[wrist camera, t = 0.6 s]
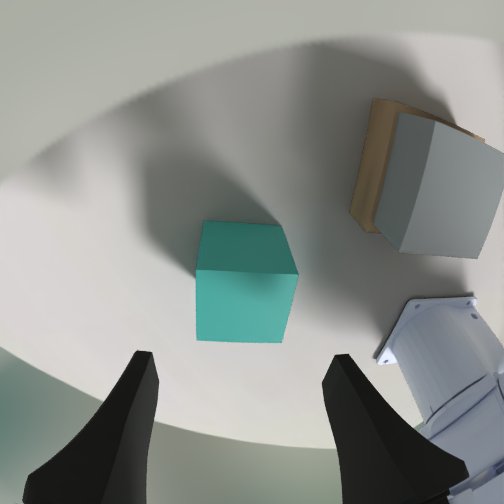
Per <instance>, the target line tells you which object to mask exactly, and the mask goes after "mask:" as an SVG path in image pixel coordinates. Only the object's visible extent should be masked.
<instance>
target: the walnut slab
mask: <svg viewBox="0 0 504 504" xmlns="http://www.w3.org/2000/svg"><path fill="white" fill-rule="evenodd" d="M399 112H402V113H406V114H411V115H415V116H419V117H423V118H427V119H431V120H435V121H437V122H440V123H442V124H445V125H447V126H449V127H452V128H454V129H456V130H458V131H461V132H463V133H465V134H467V135H469V136H471V137H473V138H475V139H477V140H479V141H481V142H483V143H485V139H483V138H481V137H479V136H477V135H475V134H473V133H471V132H469V131H467V130H465V129H463V128H461V127H459V126H456V125H454V124H452V123H450V122H447V121H445V120H443V119H440V118H438V117H436V116H433V115H431V114H428V113H426V112H423V111H421V110H418V109H415V108H413V107H410V106H407V105H404V104H401V103H398V102H395V101H388V100H381V99H373V101H372V107H371V113H370V119H369V124H368V129H367V135H366V140H365V145H364V149H363V154H362V159H361V164H360V168H359V173H358V177H357V181H356V185H355V190H354V194H353V198H352V202H351V206H350V210H349V213H350V214H351V215H352V216H353V217H354V218H355V220H356V221H357V222H358V223H359V224H360V226H361V227H362V228H363V229H364V230H365V232H372V233H381V232H380V231H379V230H378V229H377V228H376V227H375V226H374V224H373V220H374V216H375V213H376V209H377V205H378V202H379V198H380V194H381V190H382V187H383V183H384V179H385V175H386V170H387V166H388V162H389V158H390V153H391V149H392V144H393V139H394V134H395V129H396V124H397V118H398V113H399ZM381 234H382V233H381Z"/></svg>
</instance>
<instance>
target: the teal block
mask: <svg viewBox="0 0 504 504" xmlns="http://www.w3.org/2000/svg"><path fill="white" fill-rule="evenodd" d="M298 276H299V274H298V271H297V268H296V265H295V262H294V259H293V257H292V254H291V251H290V248H289V245H288V242H287V239H286V237H285V234H284V231H283V228H282V226H277V225H264V224H249V223H234V222H218V221H204V224H203V229H202V235H201V241H200V247H199V252H198V258H197V264H196V334H197V340H200V341H218V342H247V343H282V339H283V336H284V332H285V328H286V324H287V320H288V316H289V313H290V309H291V305H292V301H293V296H294V292H295V288H296V284H297V280H298Z"/></svg>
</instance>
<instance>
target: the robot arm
mask: <svg viewBox="0 0 504 504" xmlns="http://www.w3.org/2000/svg"><path fill="white" fill-rule="evenodd" d="M476 303H477V298H476V297H457V298H434V299H412V300H410V301H409V302H408V303H407V304H406V306H405V308H404V310H403V312H402V314H401V316H400V318H399V320H398V322H397V324H396V326H395V328H394V330H393V331H392V333H391V335H390V337H389V339H388V340H387V342H386V344H385V346H384V348H383V349H382V351H381V353H380V354H379V356H378V358H377V359H376V363H377V365H384V364H391V363H398V365H399V367H400V369H401V371H402V373H403V375H404V377H405V379H406V382H407V384H408V386H409V388H410V390H411V393H412V395H413V397H414V399H415V402H416V404H417V406H418V408H419V411H420V413H421V416H422V418H423V420H424V423H425V424H426V425H425V426H424V427H423V428H422V429H420V430H419V431H420V433H418V432H417V431H416V430H415V429H414V428H412V427H411V426H410V425H409V424H408V423H407V422H406V421H405V420H404V419H402V418H401V417H400V416H399V415H398V414H397V413H396V411H395V410H394V409H393V408H392V407H391V406H390V405H389V404H388V403H387V402H386V401H385V399H384V398H383V397H382V396H381V395H380V393H379V392H378V391H377V390H376V389H375V387H374V386H373V385H372V384H371V382H370V381H369V380H368V379H367V377H366V376H365V375H364V373H363V372H362V371H361V370H360V368H359V367H358V366H357V364H356V363H355V362H354V360H353V359H352V358H351V356H350V355H349V354H340V355H335V356H334V358H333V360H332V362H331V364H330V367H329V369H328V371H327V373H326V375H325V377H324V379H323V381H322V388H323V396H324V402H325V407H326V411H327V414H328V418H329V422H330V425H331V429H332V433H333V436H334V440H335V444H336V447H337V452H338V457H339V465H340V472H341V483H342V498H343V504H504V348H503V346H502V344H501V342H500V341H499V340H498V338H497V337H496V335H495V334H494V333H493V331H492V330H491V329H490V327H489V326H488V325H487V323H486V322H485V321H484V319H483V318H482V317H481V316H480V314H479V313H478V312H477V310H476V309H475V308H474V306H475V304H476ZM158 389H159V379H158V375H157V371H156V367H155V363H154V358H153V354H152V352H147V351H138V350H137V351H136V352H135V353H134V355H133V357H132V358H131V360H130V362H129V364H128V365H127V367H126V369H125V370H124V372H123V374H122V375H121V377H120V379H119V380H118V382H117V383H116V385H115V386H114V388H113V389H112V391H111V392H110V394H109V395H108V397H107V398H106V400H105V401H104V402H103V404H102V405H101V406H100V408H99V409H98V410H97V412H96V413H95V414H94V416H93V417H92V418H91V419H90V421H89V422H88V423H87V424H86V426H84V428H83V429H82V430H81V431H80V432H79V433H78V434H77V435H76V436H75V437H74V438H73V439H72V440H71V441H70V442H69V443H68V444H67V445H66V446H65V447H64V448H63V449H62V450H61V451H59V452H58V453H57V454H56V455H55V456H54V457H52V458H51V459H50V460H49V461H48V462H46V463H45V464H44V465H42V466H41V467H40V468H38V469H36V470H35V471H34V472H33V473H31V474H30V475H28V478H27V481H26V484H25V488H24V494H23V499H22V501H23V503H24V504H146V474H147V456H148V449H149V443H150V438H151V432H152V427H153V422H154V417H155V412H156V407H157V400H158ZM14 504H17V503H14Z"/></svg>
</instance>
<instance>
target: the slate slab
mask: <svg viewBox="0 0 504 504" xmlns="http://www.w3.org/2000/svg"><path fill="white" fill-rule="evenodd" d="M503 189H504V153H502V152H500V151H499V150H497V149H495V148H493V147H491V146H489V145H487V144H485V143H483V142H481V141H479V140H477V139H475V138H473V137H471V136H469V135H467V134H465V133H463V132H461V131H458V130H456V129H454V128H452V127H449V126H447V125H445V124H442V123H440V122H437V121H435V120H431V119H427V118H423V117H419V116H415V115H411V114H406V113H402V112H399V113H398V118H397V124H396V129H395V134H394V139H393V144H392V149H391V153H390V158H389V162H388V166H387V170H386V175H385V179H384V183H383V187H382V190H381V194H380V198H379V202H378V205H377V209H376V213H375V216H374V220H373V224H374V226H375V227H376V228H377V229H378V230H379V231H380V232H381V233H382V234H383V235H384V237H385V238H386V239H387V240H388V241H389V242H390V243H391V244H392V246H393V247H394V248H395V249H396V250H397V251H398V252H399V253H409V254H422V255H434V256H446V257H458V258H470V259H478V256H479V254H480V252H481V250H482V247H483V245H484V242H485V240H486V237H487V235H488V232H489V230H490V227H491V224H492V222H493V219H494V216H495V213H496V210H497V208H498V204H499V201H500V198H501V195H502V192H503Z"/></svg>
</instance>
